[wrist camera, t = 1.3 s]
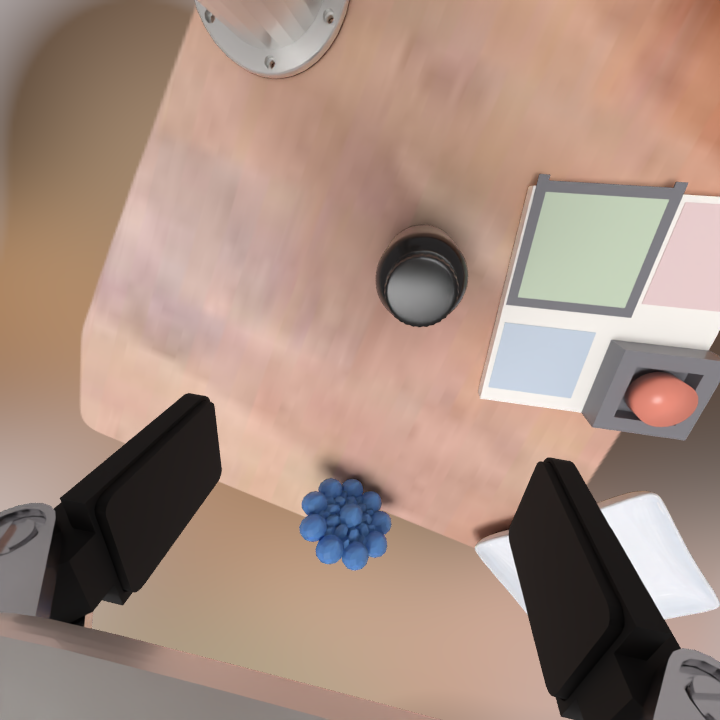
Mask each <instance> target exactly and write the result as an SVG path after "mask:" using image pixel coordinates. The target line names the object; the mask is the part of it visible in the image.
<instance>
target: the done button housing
mask: <svg viewBox="0 0 720 720" xmlns="http://www.w3.org/2000/svg"><path fill="white" fill-rule="evenodd" d="M652 372H666V373H670V374H672V375H674V376H676V377H677V378H678V379H680V380H681V381H683V382H684V383H686V384H687V385H689V386H690V387H692V388H693V389H694V390H695V391H696V393H697V395H698V405H697V408H696V409H695V411H694V412H693V414H692V415H691V416H690V417H688V418H687V419H686V420H684V421H682V422H680V423H678V424H676V425H672V426H668V427H654V426H650V425H648V424H646V423H644V422H643V421H642V420H640V419H639V418H638V417H637V416H636V415H635V414H634V413H633V412H632V411H631V410H630V409H629V408H628V406H627V405H626V403H625V392H626V390H627V388H628V386H629V385H630V384H631V383H632V382H633V381H634V380H636V379H637V378H639V377H640V376H642V375H645V374H648V373H652ZM719 382H720V356H718V355H716V354H714V353H712V352H710V351H708V350H700V349H691V348H682V347H673V346H664V345H655V344H646V343H638V342H629V341H620V340H611V341H610V344H609V346H608V349H607V351H606V354H605V356H604V358H603V361H602V363H601V366H600V368H599V371H598V373H597V375H596V378H595V380H594V383H593V385H592V388H591V390H590V393H589V395H588V397H587V400H586V402H585V405H584V407H583V410H582V412H581V413H582V414H583V416H584V417H585V418H586V419H587V421H588V422H589V423H590V425H591V426H592V427H595V428H602V429H609V430H616V431H623V432H630V433H637V434H644V435H651V436H658V437H665V438H672V439H679V440H686V438H687V436H688V435H689V433H690V432H691V430H692V428H693V426H694V425H695V423H696V421H697V420H698V418H699V416H700V415H701V413H702V411H703V410H704V407H705V406H706V404H707V403H708V401H709V399H710V398H711V396H712V394H713V393H714V390H715V389H716V388H717V386H718V384H719Z"/></svg>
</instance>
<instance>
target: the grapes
mask: <svg viewBox="0 0 720 720" xmlns="http://www.w3.org/2000/svg"><path fill="white" fill-rule="evenodd" d="M318 490H319V492H317V491H314V492H310V493H309V494H307V495H306V496H305V497H304V499H303V501H302V509H303V510H304V512H305V513H306V514H307V515H308V516H307V517H305V519H303V520H302V522H301V525H300V527H299V528H300V534H301V535H302V537H303V538H304V539H305V540H307V541H311V542H314V541H318V540H319V542H318V544H317V547H316V556H317V557H318V558H319V560H320V561H321V562H322V563H325V564H333V563H336V562H337V561H338V560H339V559H341V557H342V561H343V563H344V564H345V566H346V567H347V568H348V569H351V570H359V569H362V568H363V567H364V566H365V565H366V564H367V560H368V558H369V556H370V557H374V558H376V557H380V556H382V555H383V554H384V553H385V552H386V548H387V541H386V537H385V536H384V534H386V533H387V532H388V531H389V530H390V527H391V518H390V517H389V515H388V514H387V513H385V512H383V511H378V510H380V508H381V505H382V503H381V497H380V496H379V494H377V493H376V492H373V491H368V492H365V493H364V494H362V493H363V486H362V484H361V482H359V481H358V480H356V479H348V480H346V481H345V482H344V483H343V484H342V485H341V483H340V482H339V481H338V480H336V479H333V478H330V479H326V480H324V481H323V482H322V483H321V484H320V486H319V489H318Z"/></svg>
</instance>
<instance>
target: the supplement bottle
mask: <svg viewBox="0 0 720 720" xmlns="http://www.w3.org/2000/svg"><path fill="white" fill-rule="evenodd" d="M467 283H468V270H467V265H466V261H465V259H464V256H463V255H462V253H461V251H460V250H459V248H458V247H457V245H456V244H455V243H454V242H453V240H452V239H451V238H450V237H449V236H448V235H447V234H446V233H445V232H444V231H442V230H441V229H439V228H437V227H434V226H430V225H416V226H412V227H409V228H407V229H405V230H403V231H402V232H400V233H399V234H398V235H397V236H396V237H395V238H394V239H393V240H392V242H391V243H390V244H389V246H388V247H387V249H386V250H385V252H384V254H383V255H382V257H381V259H380V261H379V264H378V267H377V271H376V289H377V293H378V296H379V298H380V300H381V302H382V304H383V305H384V307H385V308H386V309H387V310H388V311H389V312H390V313H391V314H392V315H394V317H395V318H397V319H399V321H400V322H404V323H405V324H406V325H411V326H413V327H414V326H417V327H422V326H425V327H427V326H429V325H434V324H435V323H438V322H440V321H441V320H442V319H444V318H446V316H447V315H448V314H450V313H451V312H452V311H453V310H454V309H455V308H456V307H457V306H458V304H459V303H460V301H461V300H462V298H463V296H464V294H465V291H466V288H467Z"/></svg>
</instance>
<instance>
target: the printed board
mask: <svg viewBox="0 0 720 720" xmlns="http://www.w3.org/2000/svg"><path fill="white" fill-rule="evenodd" d="M549 178H550V175H547V174H539V177H538V181H537V185H536V186H535V185H533V186H528V191H527V195H526V199H525V203H524V207H523V211H522V215H521V219H520V223H519V227H518V231H517V235H516V239H515V243H514V247H513V251H512V256H511V260H510V264H509V268H508V272H507V276H506V280H505V284H504V288H503V292H502V296H501V300H500V304H499V308H498V312H497V317H496V321H495V325H494V329H493V333H492V337H491V341H490V345H489V349H488V353H487V357H486V361H485V365H484V369H483V373H482V377H481V382H480V386H479V390H478V393H479V396H480V399H487V400H494V401H502V402H509V403H516V404H523V405H530V406H537V407H545V408H552V409H559V410H566V411H573V412H582V410H583V407H584V405H585V402H586V400H587V397H588V395H589V393H590V390H591V388H592V385H593V383H594V380H595V378H596V375H597V373H598V371H599V368H600V366H601V363H602V361H603V358H604V356H605V354H606V351H607V349H608V346H609V344H610V341H611V340H620V341H629V342H638V343H646V344H655V345H664V346H673V347H682V348H691V349H700V350H709V349H710V347H711V345H712V343H713V341H714V339H715V338H716V336H717V334H718V332H719V330H720V197H714V196H698V195H683V194H684V192H685V190H686V187H687V185H688V183H686V182H675V185H674V187H673V188H667V187H650V186H634V185H617V184H600V183H583V182H566V181H549Z"/></svg>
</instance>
